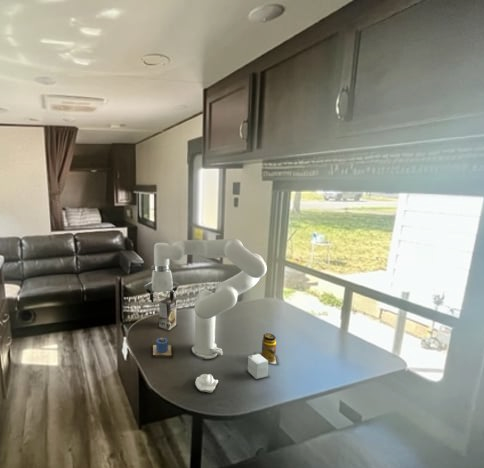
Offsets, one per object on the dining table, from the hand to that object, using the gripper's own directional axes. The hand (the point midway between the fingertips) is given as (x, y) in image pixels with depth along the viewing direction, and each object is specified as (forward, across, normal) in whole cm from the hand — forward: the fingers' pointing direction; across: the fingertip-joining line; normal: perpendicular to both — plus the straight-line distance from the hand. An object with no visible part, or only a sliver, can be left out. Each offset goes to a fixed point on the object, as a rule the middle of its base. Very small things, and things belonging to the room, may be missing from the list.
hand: (161, 300), depth 149 cm
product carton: (+25, +37, -28) cm, 53 cm away
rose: (+25, +13, -32) cm, 43 cm away
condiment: (+25, +47, -18) cm, 56 cm away
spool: (+24, -1, -5) cm, 24 cm away
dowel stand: (+25, -1, -5) cm, 26 cm away
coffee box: (+25, +8, +21) cm, 34 cm away
